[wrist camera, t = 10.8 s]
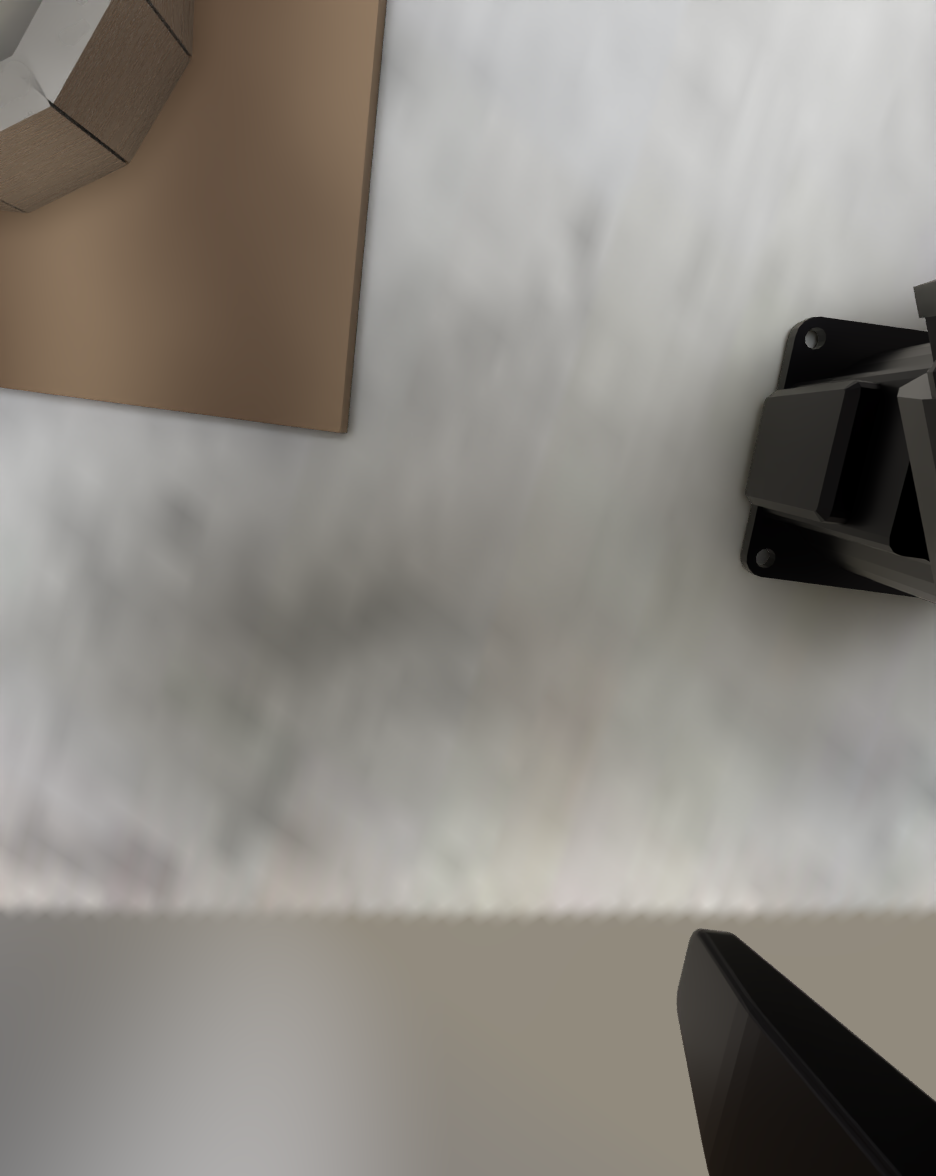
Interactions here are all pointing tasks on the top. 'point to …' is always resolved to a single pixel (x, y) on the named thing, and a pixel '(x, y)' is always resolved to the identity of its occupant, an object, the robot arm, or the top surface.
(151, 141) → the base plate
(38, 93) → the ring collar
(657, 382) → the top surface
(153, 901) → the top surface
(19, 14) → the can
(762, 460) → the robot arm
